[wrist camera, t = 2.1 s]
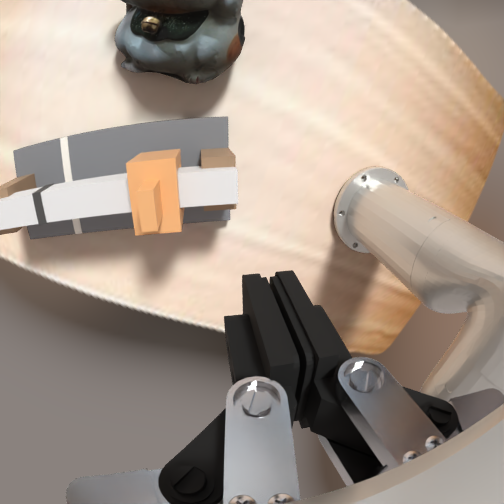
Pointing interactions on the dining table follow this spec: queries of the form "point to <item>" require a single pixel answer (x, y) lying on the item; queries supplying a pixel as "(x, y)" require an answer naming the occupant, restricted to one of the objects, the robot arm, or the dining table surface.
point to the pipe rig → (116, 177)
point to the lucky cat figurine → (181, 37)
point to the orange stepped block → (155, 192)
